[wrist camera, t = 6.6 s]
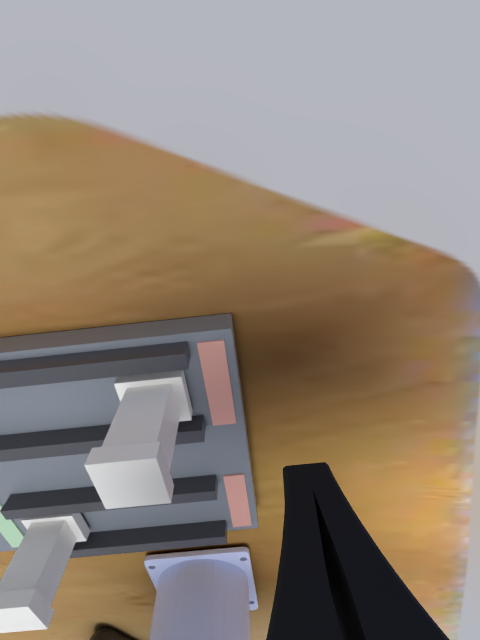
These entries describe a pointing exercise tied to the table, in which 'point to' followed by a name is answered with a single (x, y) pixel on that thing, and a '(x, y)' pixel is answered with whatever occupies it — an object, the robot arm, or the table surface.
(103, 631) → the leaning round-cornered charcoal block
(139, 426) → the breaker
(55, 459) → the panel
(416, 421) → the table surface
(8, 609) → the breaker
